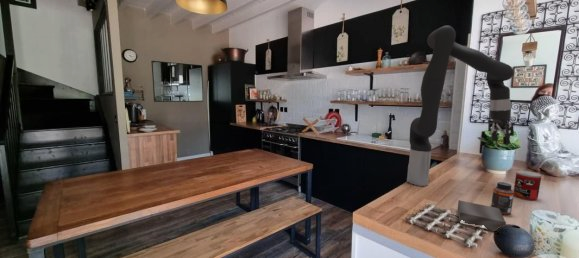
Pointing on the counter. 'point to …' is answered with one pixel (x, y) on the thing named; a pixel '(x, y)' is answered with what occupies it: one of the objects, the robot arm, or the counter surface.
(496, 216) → the riser
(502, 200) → the supplement bottle
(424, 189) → the counter surface
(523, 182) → the canned food
